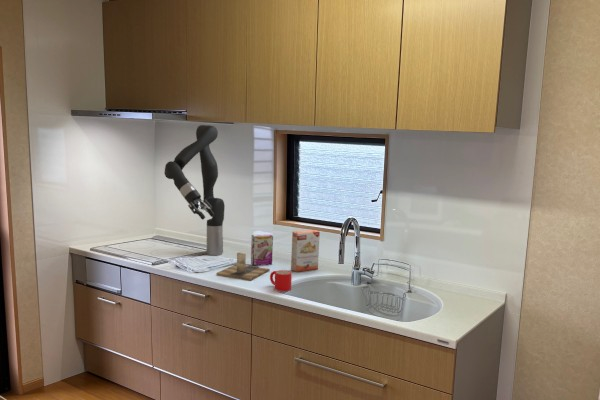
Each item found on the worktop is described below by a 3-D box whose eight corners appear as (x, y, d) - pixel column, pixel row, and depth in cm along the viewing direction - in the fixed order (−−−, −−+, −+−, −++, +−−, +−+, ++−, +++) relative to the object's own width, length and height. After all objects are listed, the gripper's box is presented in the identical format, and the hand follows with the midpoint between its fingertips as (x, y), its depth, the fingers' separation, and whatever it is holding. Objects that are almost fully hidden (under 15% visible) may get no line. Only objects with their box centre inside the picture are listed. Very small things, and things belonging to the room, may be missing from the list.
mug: (274, 283, 259) (275, 267, 258) (294, 288, 252) (295, 272, 251) (264, 287, 253) (264, 270, 252) (284, 292, 246) (284, 275, 245)
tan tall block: (239, 270, 274) (239, 251, 272) (247, 272, 272) (247, 253, 270) (235, 273, 270) (235, 253, 268) (242, 274, 268) (243, 254, 266)
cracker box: (296, 272, 279) (297, 233, 276) (290, 269, 284) (291, 231, 281) (318, 269, 286) (320, 231, 283) (312, 266, 291) (314, 229, 288)
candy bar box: (252, 266, 289) (253, 236, 287) (250, 263, 294) (251, 234, 291) (272, 264, 293) (273, 235, 290) (270, 262, 297) (270, 233, 295)
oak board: (236, 266, 288) (236, 263, 288) (269, 271, 280) (269, 268, 280) (216, 275, 270) (216, 272, 270) (251, 280, 262) (251, 278, 262)
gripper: (186, 190, 271) (205, 214, 268) (202, 187, 284) (220, 210, 281) (177, 200, 274) (196, 224, 271) (193, 196, 287) (212, 219, 284)
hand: (208, 217), depth 276 cm, fingers open, 8 cm apart
